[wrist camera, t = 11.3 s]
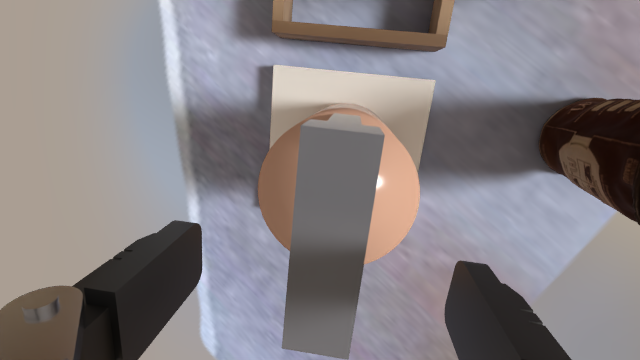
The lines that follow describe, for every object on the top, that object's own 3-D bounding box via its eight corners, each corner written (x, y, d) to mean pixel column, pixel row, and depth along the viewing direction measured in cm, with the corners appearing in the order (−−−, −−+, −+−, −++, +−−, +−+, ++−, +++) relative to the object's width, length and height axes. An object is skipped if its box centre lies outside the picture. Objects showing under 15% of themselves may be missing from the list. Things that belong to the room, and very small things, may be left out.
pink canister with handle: (302, 97, 26) (206, 114, 9) (399, 108, 26) (487, 147, 9) (294, 188, 28) (206, 335, 12) (383, 200, 28) (428, 373, 11)
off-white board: (277, 65, 27) (273, 64, 26) (432, 80, 26) (435, 80, 25) (269, 206, 31) (266, 211, 30) (404, 224, 30) (406, 230, 29)
